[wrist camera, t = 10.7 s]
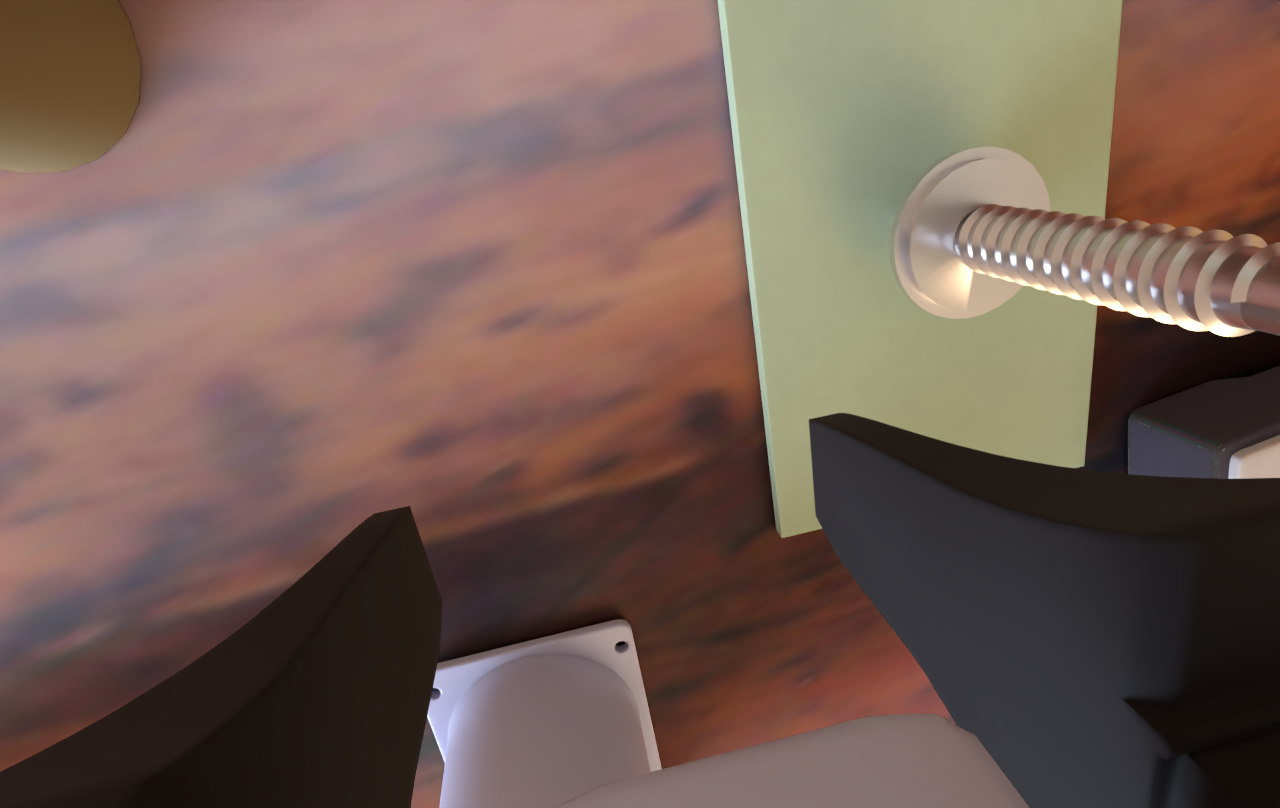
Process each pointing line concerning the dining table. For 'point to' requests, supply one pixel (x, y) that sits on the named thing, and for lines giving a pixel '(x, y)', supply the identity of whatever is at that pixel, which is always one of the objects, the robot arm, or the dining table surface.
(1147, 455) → the calculator
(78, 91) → the olive pawn
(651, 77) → the dining table surface
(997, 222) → the screw
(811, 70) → the mat
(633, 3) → the dining table surface
